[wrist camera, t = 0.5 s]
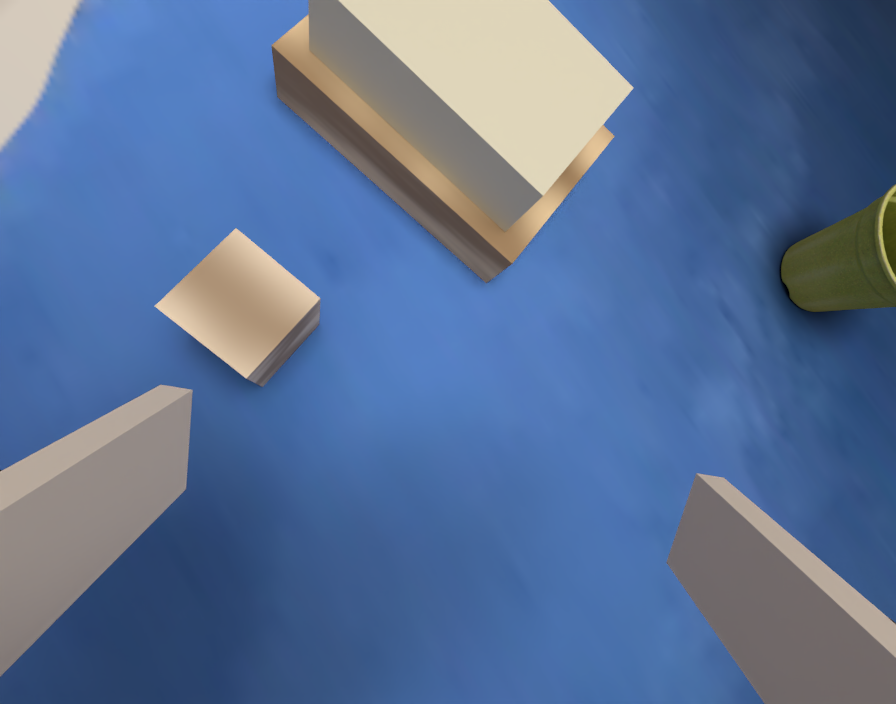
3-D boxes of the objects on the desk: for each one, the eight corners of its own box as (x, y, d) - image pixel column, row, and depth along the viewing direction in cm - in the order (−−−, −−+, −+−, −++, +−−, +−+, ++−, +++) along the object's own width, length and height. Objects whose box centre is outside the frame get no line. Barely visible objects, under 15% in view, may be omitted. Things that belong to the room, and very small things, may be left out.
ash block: (262, 386, 29) (246, 378, 22) (193, 331, 28) (154, 306, 21) (319, 324, 30) (320, 298, 23) (254, 270, 29) (236, 228, 23)
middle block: (505, 232, 29) (542, 196, 24) (309, 49, 27) (308, -29, 22) (584, 137, 31) (633, 87, 27) (409, -36, 29) (428, -123, 25)
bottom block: (484, 285, 34) (512, 263, 29) (278, 101, 31) (271, 45, 27) (575, 172, 37) (614, 136, 32) (394, -2, 35) (407, -69, 30)
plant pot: (842, 347, 41) (975, 330, 33) (755, 310, 39) (873, 282, 31) (854, 248, 43) (983, 208, 35) (771, 208, 41) (888, 156, 33)
